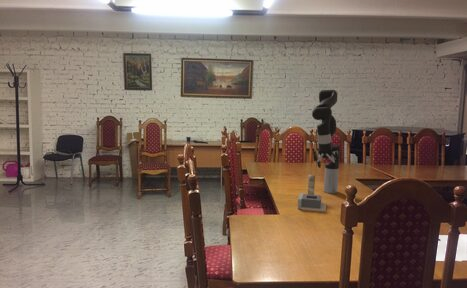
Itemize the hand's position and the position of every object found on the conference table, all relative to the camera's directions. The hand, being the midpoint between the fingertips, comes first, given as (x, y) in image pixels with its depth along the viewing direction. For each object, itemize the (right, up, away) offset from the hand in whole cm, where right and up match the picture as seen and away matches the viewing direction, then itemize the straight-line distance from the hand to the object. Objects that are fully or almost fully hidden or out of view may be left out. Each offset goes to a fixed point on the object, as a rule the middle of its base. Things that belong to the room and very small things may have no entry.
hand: (327, 167), depth 212 cm
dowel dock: (-7, -24, +8) cm, 26 cm away
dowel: (-5, -22, +24) cm, 33 cm away
